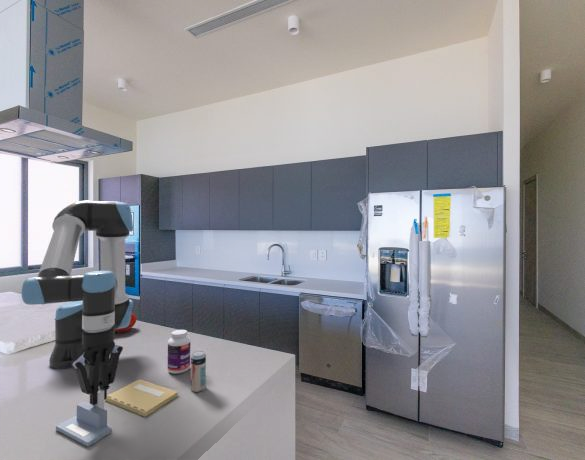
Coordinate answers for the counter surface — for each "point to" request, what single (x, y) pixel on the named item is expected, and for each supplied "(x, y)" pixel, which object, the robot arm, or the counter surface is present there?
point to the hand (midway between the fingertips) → (98, 413)
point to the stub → (86, 424)
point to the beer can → (198, 371)
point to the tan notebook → (141, 397)
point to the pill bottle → (178, 352)
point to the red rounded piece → (132, 322)
